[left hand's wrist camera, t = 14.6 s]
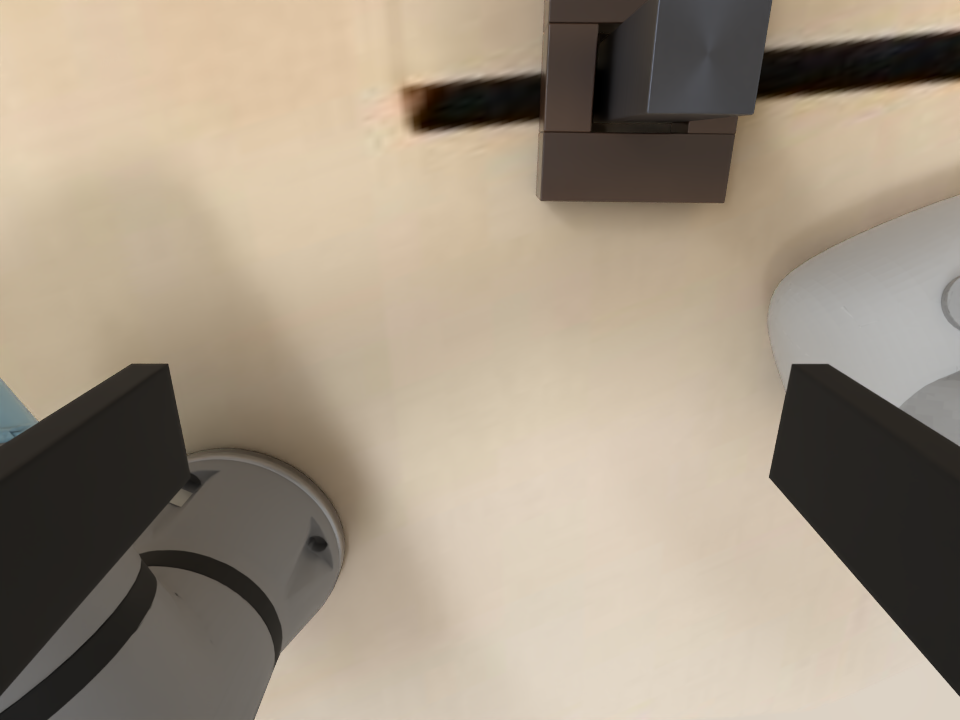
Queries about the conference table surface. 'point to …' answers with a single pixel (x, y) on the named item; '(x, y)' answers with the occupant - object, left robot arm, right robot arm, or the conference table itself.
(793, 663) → the conference table surface
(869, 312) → the projector
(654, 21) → the peg
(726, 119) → the peg board
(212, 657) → the left robot arm
